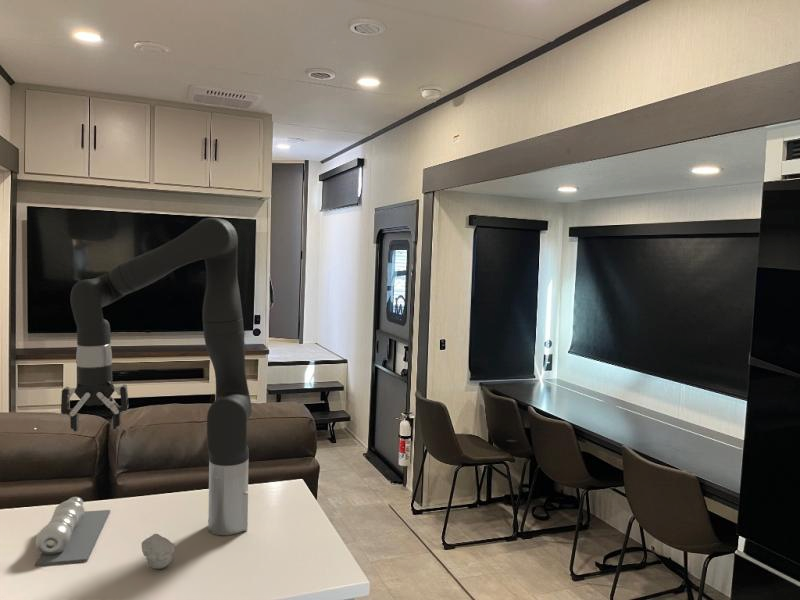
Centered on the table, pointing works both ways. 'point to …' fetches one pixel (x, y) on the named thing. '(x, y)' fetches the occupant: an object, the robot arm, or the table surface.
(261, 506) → the table surface
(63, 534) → the plastic bottle
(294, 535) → the table surface
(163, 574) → the table surface
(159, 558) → the grey cupcake
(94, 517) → the charcoal rubber mat
